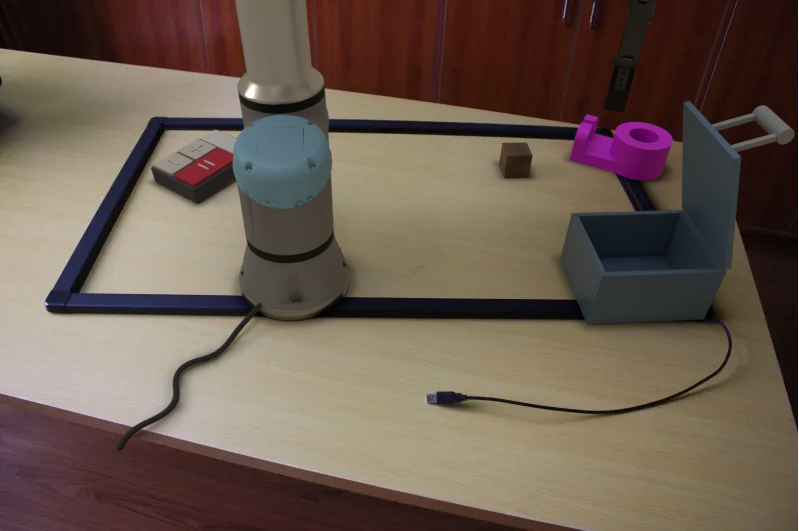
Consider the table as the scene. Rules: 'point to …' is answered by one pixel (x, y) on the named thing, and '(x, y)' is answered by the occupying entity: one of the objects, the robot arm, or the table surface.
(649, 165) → the tape dispenser
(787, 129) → the lid
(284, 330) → the table surface
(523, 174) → the block
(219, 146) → the calculator
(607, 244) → the compartment
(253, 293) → the robot arm
